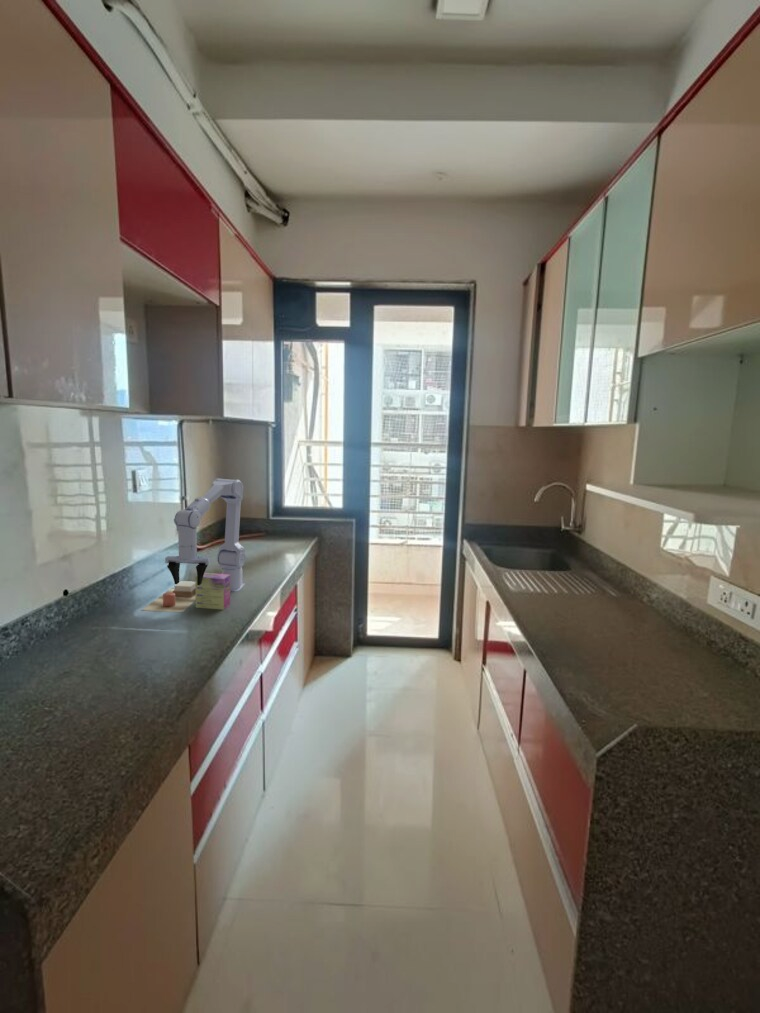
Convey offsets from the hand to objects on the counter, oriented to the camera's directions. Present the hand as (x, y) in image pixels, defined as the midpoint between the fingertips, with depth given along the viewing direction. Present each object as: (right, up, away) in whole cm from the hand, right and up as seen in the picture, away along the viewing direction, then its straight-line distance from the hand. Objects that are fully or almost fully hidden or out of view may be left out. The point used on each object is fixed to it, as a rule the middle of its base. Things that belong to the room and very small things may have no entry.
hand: (188, 583), depth 161 cm
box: (+6, -10, +6) cm, 13 cm away
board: (-9, -8, +10) cm, 16 cm away
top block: (-7, -5, +16) cm, 18 cm away
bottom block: (-8, -7, +16) cm, 19 cm away
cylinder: (-9, -8, +4) cm, 13 cm away
